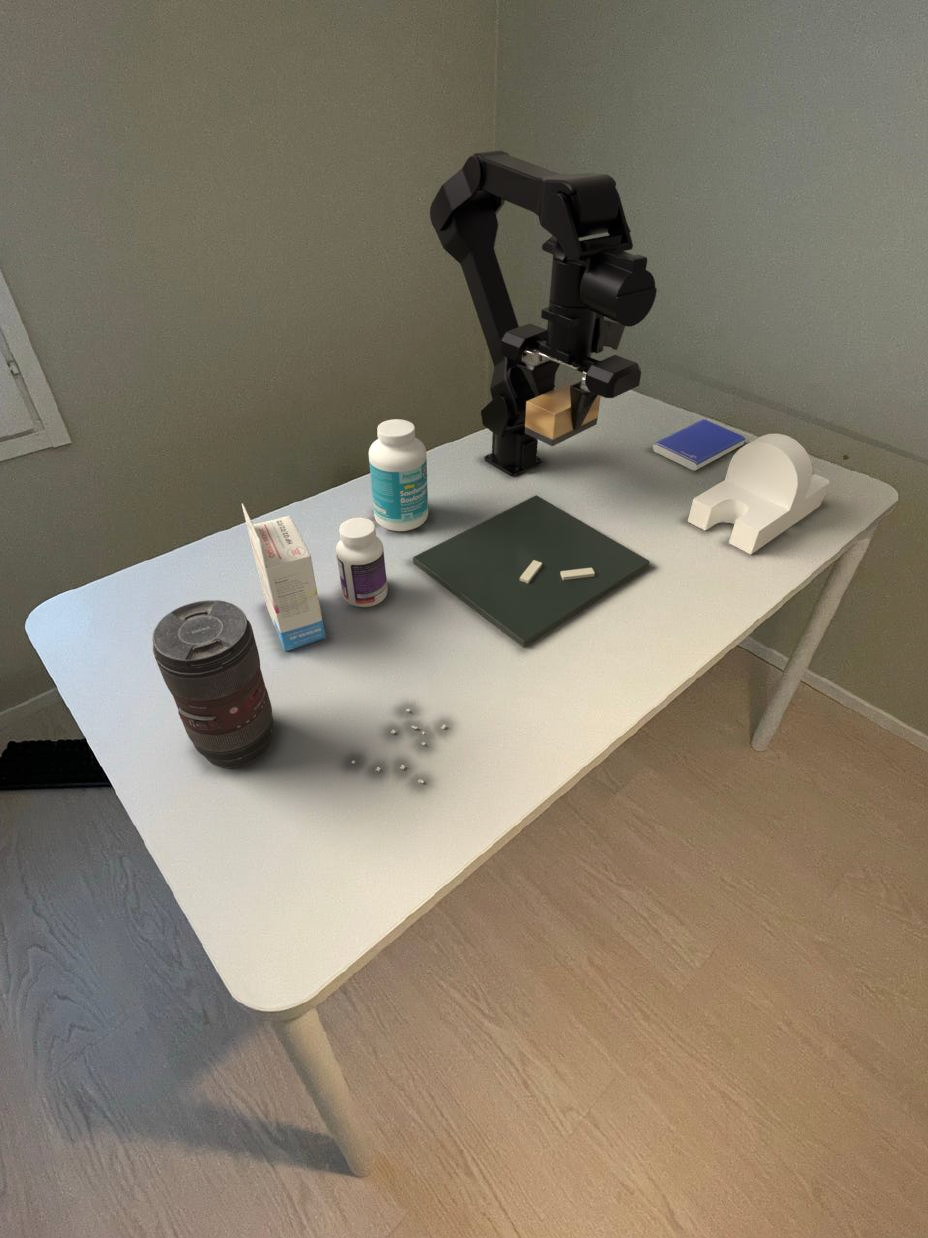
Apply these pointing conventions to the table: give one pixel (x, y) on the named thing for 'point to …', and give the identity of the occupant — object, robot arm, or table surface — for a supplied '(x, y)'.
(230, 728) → the camera lens
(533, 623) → the chalkboard
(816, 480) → the block with arch cutout
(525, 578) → the chalk stroke
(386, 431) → the pill bottle
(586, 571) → the chalk stroke
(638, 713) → the table surface
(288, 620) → the ink box
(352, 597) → the pill bottle
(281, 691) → the table surface
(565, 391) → the eraser
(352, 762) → the crumbs
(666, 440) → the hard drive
